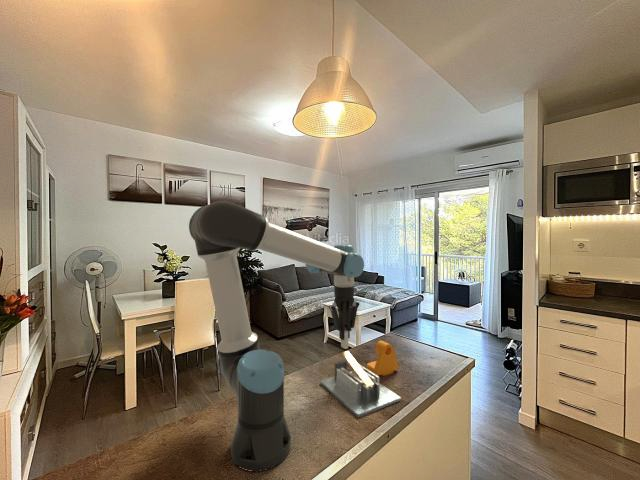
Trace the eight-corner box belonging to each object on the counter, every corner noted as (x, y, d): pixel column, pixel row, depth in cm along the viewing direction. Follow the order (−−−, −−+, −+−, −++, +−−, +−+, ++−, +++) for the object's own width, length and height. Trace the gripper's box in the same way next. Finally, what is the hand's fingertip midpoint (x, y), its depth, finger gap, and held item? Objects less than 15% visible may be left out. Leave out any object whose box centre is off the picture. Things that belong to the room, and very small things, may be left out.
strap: (375, 388, 93) (376, 386, 92) (368, 391, 91) (368, 389, 91) (347, 352, 106) (348, 350, 106) (341, 354, 105) (341, 352, 104)
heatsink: (400, 400, 93) (400, 381, 93) (357, 417, 84) (357, 396, 84) (358, 371, 113) (358, 356, 113) (320, 383, 104) (320, 366, 104)
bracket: (385, 364, 119) (385, 336, 119) (398, 371, 113) (398, 341, 113) (366, 370, 114) (366, 341, 114) (378, 377, 108) (377, 347, 108)
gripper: (335, 288, 99) (335, 354, 99) (363, 285, 105) (364, 347, 105) (324, 285, 105) (324, 347, 106) (352, 282, 112) (352, 340, 112)
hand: (344, 347), depth 106 cm, fingers closed
